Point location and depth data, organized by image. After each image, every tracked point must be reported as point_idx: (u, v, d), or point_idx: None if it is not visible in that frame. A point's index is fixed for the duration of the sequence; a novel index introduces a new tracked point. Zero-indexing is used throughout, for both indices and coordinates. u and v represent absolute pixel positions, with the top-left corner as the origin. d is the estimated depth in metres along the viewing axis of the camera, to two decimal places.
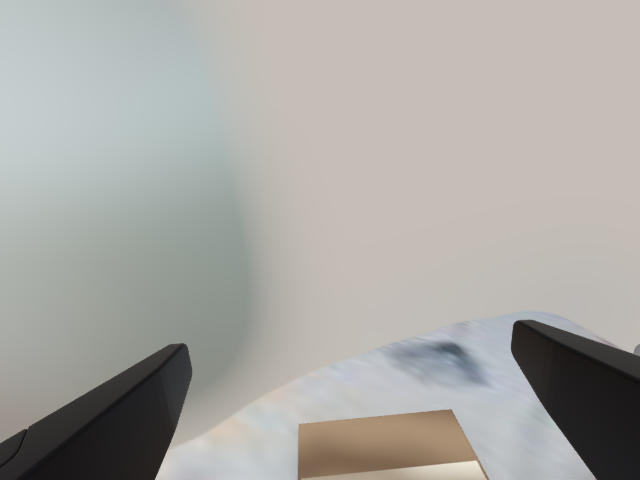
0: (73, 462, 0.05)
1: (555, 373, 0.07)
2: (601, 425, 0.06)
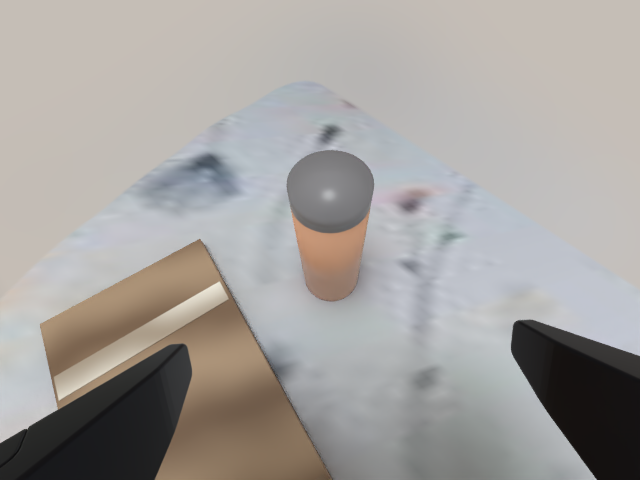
0: (72, 462, 0.05)
1: (555, 373, 0.07)
2: (601, 425, 0.06)
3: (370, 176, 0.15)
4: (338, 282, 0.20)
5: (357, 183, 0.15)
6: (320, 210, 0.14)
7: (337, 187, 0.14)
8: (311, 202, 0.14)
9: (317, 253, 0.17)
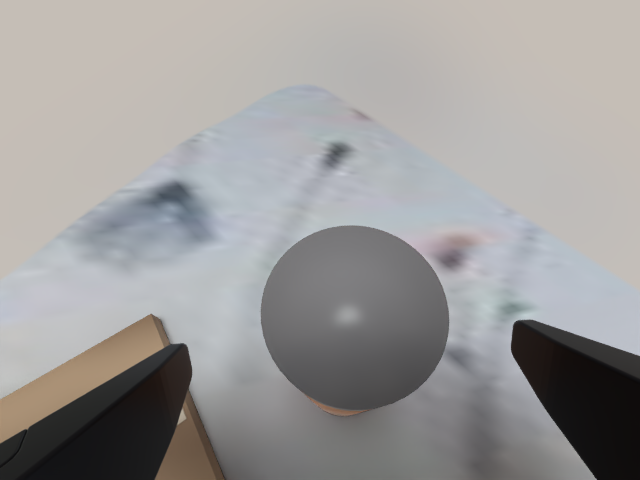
0: (73, 462, 0.05)
1: (555, 373, 0.07)
2: (601, 425, 0.06)
3: (438, 290, 0.07)
4: None
5: (413, 308, 0.07)
6: (334, 382, 0.06)
7: (369, 317, 0.07)
8: (313, 359, 0.06)
9: (324, 407, 0.09)
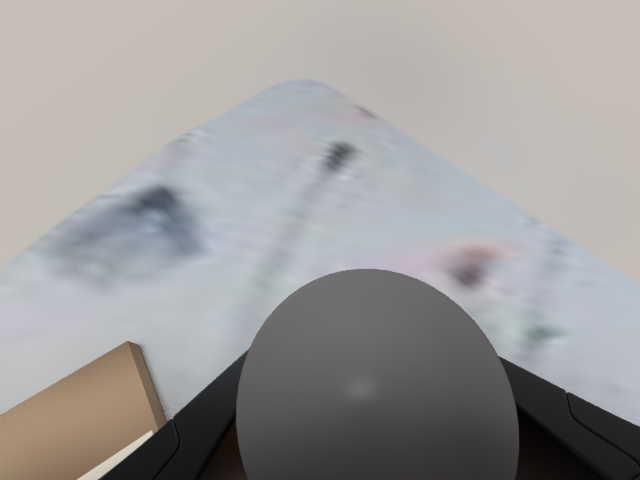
0: (222, 452, 0.05)
1: None
2: None
3: (498, 372, 0.05)
4: None
5: (463, 403, 0.05)
6: None
7: (398, 418, 0.04)
8: None
9: None
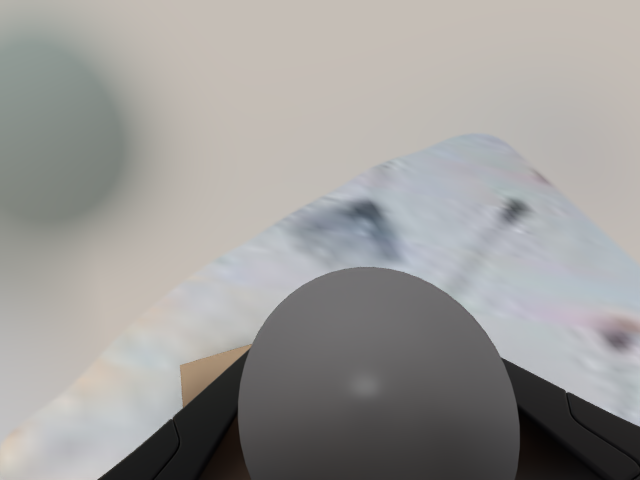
0: (223, 451, 0.05)
1: None
2: None
3: (499, 370, 0.05)
4: None
5: (464, 400, 0.05)
6: None
7: (399, 415, 0.05)
8: None
9: None
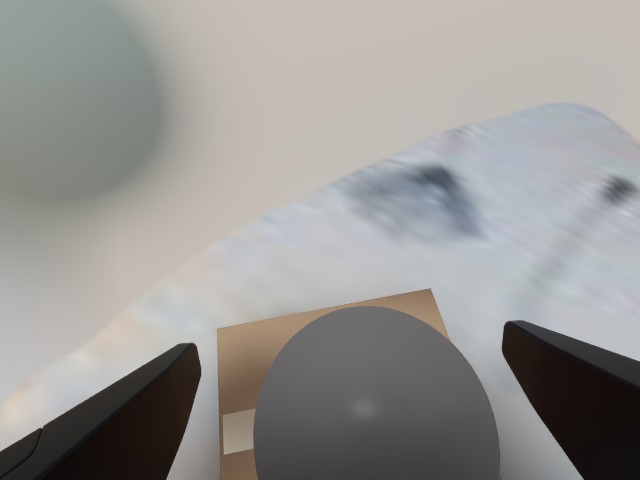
0: (88, 461, 0.05)
1: (544, 374, 0.07)
2: (588, 426, 0.06)
3: (483, 404, 0.05)
4: None
5: (452, 432, 0.05)
6: None
7: (395, 445, 0.05)
8: None
9: None
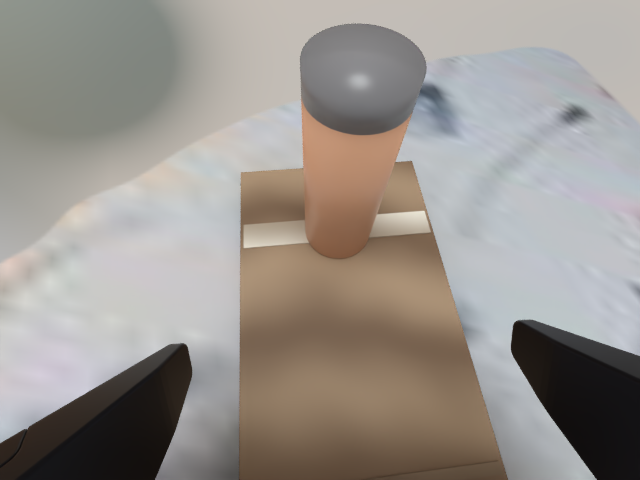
0: (71, 462, 0.05)
1: (555, 373, 0.07)
2: (601, 425, 0.06)
3: (421, 58, 0.10)
4: (349, 229, 0.16)
5: (403, 65, 0.10)
6: (347, 92, 0.09)
7: (373, 67, 0.10)
8: (334, 81, 0.10)
9: (330, 175, 0.12)
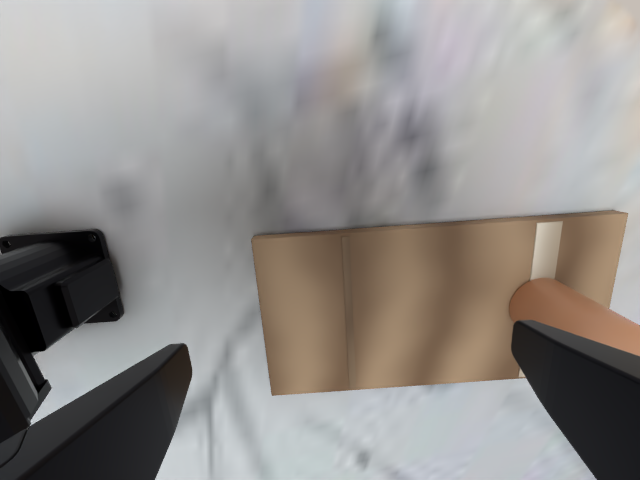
0: (72, 462, 0.05)
1: (555, 373, 0.07)
2: (601, 425, 0.06)
3: None
4: None
5: None
6: None
7: None
8: None
9: None
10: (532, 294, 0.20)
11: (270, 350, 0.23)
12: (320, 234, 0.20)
